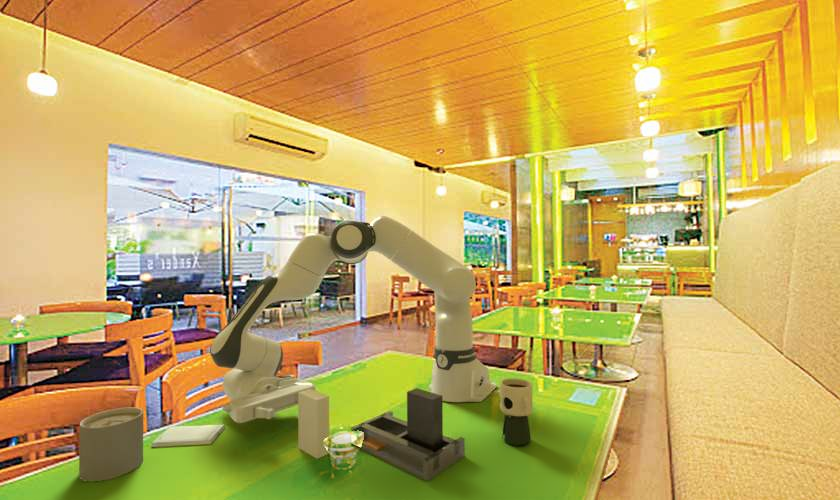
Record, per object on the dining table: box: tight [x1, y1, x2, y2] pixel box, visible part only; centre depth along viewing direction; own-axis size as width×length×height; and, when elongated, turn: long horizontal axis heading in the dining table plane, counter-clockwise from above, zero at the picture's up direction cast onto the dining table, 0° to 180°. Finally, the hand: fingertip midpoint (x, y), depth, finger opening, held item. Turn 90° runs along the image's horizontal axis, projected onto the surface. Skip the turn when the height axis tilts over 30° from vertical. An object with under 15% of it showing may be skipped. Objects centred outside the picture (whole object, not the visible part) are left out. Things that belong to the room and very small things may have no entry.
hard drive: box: [150, 424, 226, 448], centre depth 91 cm, size 2×8×12 cm
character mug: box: [499, 377, 534, 446], centre depth 88 cm, size 11×7×13 cm, turn 14°
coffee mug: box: [78, 406, 144, 482], centre depth 79 cm, size 13×10×10 cm
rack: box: [350, 387, 466, 482], centre depth 84 cm, size 12×22×13 cm, turn 49°
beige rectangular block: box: [297, 389, 330, 460], centre depth 84 cm, size 3×7×12 cm, turn 49°
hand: (291, 408), depth 90 cm, fingers open, 8 cm apart
